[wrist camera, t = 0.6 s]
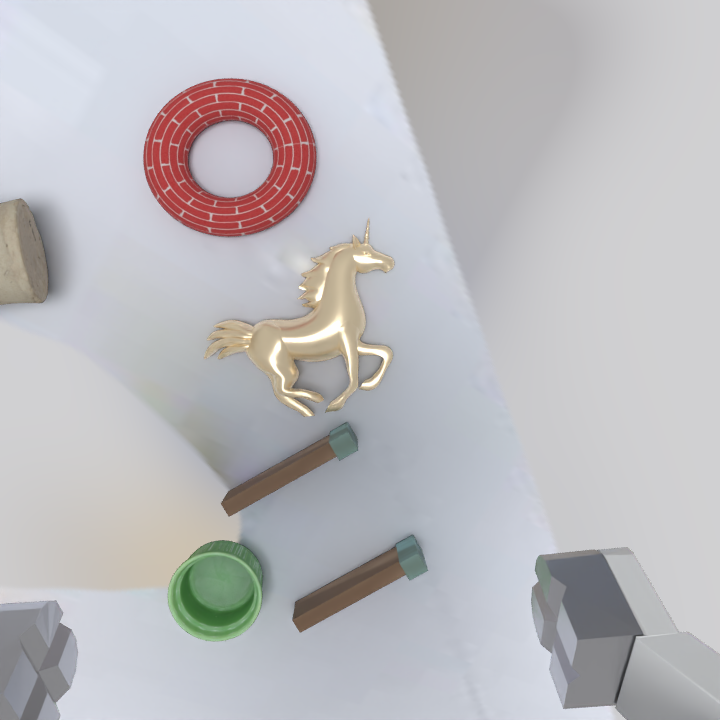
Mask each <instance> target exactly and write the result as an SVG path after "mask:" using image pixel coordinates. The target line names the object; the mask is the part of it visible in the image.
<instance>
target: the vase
mask: <svg viewBox="0 0 720 720" xmlns="http://www.w3.org/2000/svg"><path fill="white" fill-rule="evenodd" d="M47 294H48V270H47V263H46V257H45V251H44V247H43V244H42V240H41V236H40V234H39V232H38V230H37V227H36V223H35V221H34V217H33V215H32V212H31V211H30V210H29V207H28V205H27V204H26V202H25V201H24V200H22V199H16V200H12V201H8V202H4V203H0V305H3V304H11V303H42V302H44V301H45V299H46V297H47Z"/></svg>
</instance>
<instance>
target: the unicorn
mask: <svg viewBox="0 0 720 720" xmlns="http://www.w3.org/2000/svg"><path fill="white" fill-rule="evenodd" d="M368 230H369V219H368V222H367V228H366V234H365V237H364V239H365V240H364V243H363V244H360V242H359V240H358V239H357V238H356V237H355V235H353V243H349V244H348V243H343V244H338V245H336V246H333V247H330V249H331V250H330V251H328V252H326V253H325V254H323V255H321V256H319V257H316V258H311V260H312V261H313V262H315V263H318V264H317V265H316V266H315V267H314V268H313V269H311V270H310V271H308V272H305V273H302V276H303V277H306V279H305V281H304V282H303V283H302V284H301V285H300V286H299V289H304V290H306V292H305V293H303V294H302V295H301V296H300V297H299V298H298V299H306V300H308V301H310V302H308V303H306V304H302V305H303V306H305V307H311V308H314V309H313V310H312V311H311V312H310V313H309V314H308V315H306V316H304V317H301V318H297V319H291V320H279V319H271V320H270V319H267V320H263V321H261V322H259V323H257V324H256V325H254V326H251V325H249V324H246V323H244V322H241V321H237V320H227V321H223V322H220V323H218V324H216V325H214V326H213V327H216V328H224V329H223V330H217V331H214V332H213V333H211V334H210V336H209V337H208V338H207V340H214V339H217V338H223V339H220V340H217V341H215V342H214V343H212V344H211V345H210V346H209V347H208V349H207V350H206V352H205V355H204V359H207V358H209V357H210V356H212V355H213V354H214V353H216V352H217V351H218V350H219V349H221V348H224V347H226V348H225V349H223V350H222V351H221V352H220V354H219V356H218V359H222V358H224V357H227V356H229V355H232V354H235V353H239V352H246V354H247V356H248V357H249V359H250V360H251V361H252V363H253V364H254V365H255V366H256V367H257V368H258V369H259V370H261V371H262V372H264V373H265V374H266V375H267V376H268V377H269V379H270V380H271V383H272V386H273V390H274V394H275V396H276V398H277V399H278V400H279V401H280V402H281V403H283V404H284V405H286V406H288V407H290V408H292V409H294V410H296V411H298V412H299V413H301V414H302V415H303V416H304V417H307V416H314V413H313V412H312V411H311V410H310V409H309V408H308V407H307V406H306V405H304V404H302V403H301V402H299V401H297V400H296V399H295V398H305V399H308V400H311V401H314V402H316V403H319V402H321V401H323V400H324V399H323V397H322V396H321V395H320V394H319V393H317V392H314V391H310V390H305V389H295V388H292V386H293V385H294V384H295V382H296V381H297V379H298V377H299V371H298V369H297V367H296V364H295V362H294V359H295V360H299V361H307V362H319V361H325V360H329V359H332V358H335V357H337V356H339V355H341V354H342V356H343V357H344V359H345V362H346V368H347V372H348V375H349V379H350V383H349V386H348V388H347V389H346V390H345V391H344V392H343V393H342V394H341V395H340V396H338V397H337V398H336V399H335V400H333V401H331V403H330V404H329V406H328V408H327V410H326V411H325V413H326V412H332V411H337V410H340V409H341V408H342V407H343V406H344V404H345V402H346V400H347V399H348V397H349V396H350V395H351V394H353V393H354V392H355V391H356V389H357V388H358V368H359V357H358V356H363V355H378V356H381V357H383V361H382V363H381V366H380V368H379V369H378V371H377V372H375V374H374V375H373V376H372V377H371V378H369V379H365V380H364V382H363V383H362V384H361V386H360V387H359V389H361V390H366V391H369V390H373V389H375V388H376V387H377V386H378V385H379V384H380V382H381V380H382V378H383V376H384V373H385V371H386V369H387V367H388V366H389V364H390V363H391V361H392V358H393V352H392V350H391V349H390V348H389V347H387V346H384V345H371V344H365V343H363V342H361V341H360V337H361V336H362V334H363V332H364V329H365V325H366V317H365V312H364V309H363V306H362V303H361V300H360V298H359V295H358V292H357V289H356V283H355V277H356V273H357V271H358V272H360V273H367V272H370V271H372V270H375V269H380V270H383V271H384V272H385V273H386V272H388V271H390V270H391V269H393V267H394V260H393V259H392V258H391V257H390V256H387V255H385V254H382V253H380V252H377V251H375V250H374V249H373V248H372V246H371V245H369V244H368V239H369V237H368V236H369V234H368V233H369V231H368Z"/></svg>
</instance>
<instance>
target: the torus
mask: <svg viewBox="0 0 720 720" xmlns="http://www.w3.org/2000/svg"><path fill="white" fill-rule="evenodd" d="M228 120H237V121H243V122H246V123H249V124H251V125H253V126H255V127H257V128H258V129H259V130H260V131H262V132H263V133H264V134H265V136H266V137H267V138H268V140H269V142H270V144H271V146H272V150H273V166H272V169H271V172H270V174H269V176H268V178H267V179H266V181H265V182H264V183H263V184H262V185H261V186H260V187H259V188H258V189H256V190H255V191H253V192H251V193H249V194H247V195H244V196H241V197H235V198H224V197H218V196H215V195H212V194H210V193H208V192H206V191H204V190H203V189H202V188H201V187H200V186H199V185H198V184H197V183H196V182H195V181H194V179H193V177H192V175H191V173H190V170H189V166H188V154H189V150H190V147H191V145H192V143H193V141H194V140H195V138H196V137H197V136H198V135H199V134H200V133H201V132H202V131H203V130H204V129H206V128H207V127H209V126H211V125H213V124H215V123H218V122H221V121H228ZM143 160H144V170H145V175H146V179H147V182H148V185H149V187H150V189H151V191H152V193H153V195H154V196H155V198H156V199H157V201H158V202H159V204H160V205H161V206H162V207H163V208H164V209H165V210H166V211H167V212H168V213H169V214H170V215H171V216H172V217H173V218H175V219H176V220H177V221H179V222H180V223H182V224H184V225H185V226H187V227H189V228H191V229H194V230H196V231H199V232H202V233H206V234H210V235H215V236H227V237H231V236H244V235H249V234H253V233H257V232H260V231H263V230H265V229H268V228H270V227H272V226H274V225H276V224H277V223H279V222H280V221H282V220H283V219H285V218H286V217H287V216H288V215H290V214H291V213H292V212H293V211H294V210H295V209H296V208H297V207H298V205H299V204H300V203H301V202H302V200H303V199H304V197H305V195H306V194H307V192H308V190H309V188H310V186H311V183H312V180H313V177H314V174H315V168H316V146H315V141H314V137H313V134H312V131H311V129H310V126H309V124H308V123H307V121H306V119H305V117H304V116H303V114H302V113H301V112H300V111H299V109H298V108H297V107H296V106H295V105H294V104H293V103H292V102H291V101H290V100H289V99H288V98H286V97H285V96H284V95H282V94H281V93H279V92H278V91H276V90H274V89H272V88H270V87H268V86H266V85H263V84H261V83H257V82H254V81H250V80H244V79H232V78H231V79H217V80H211V81H207V82H203V83H200V84H197V85H195V86H192V87H190V88H188V89H186V90H184V91H183V92H181V93H180V94H178V95H177V96H175V97H174V98H173V99H172V100H170V101H169V102H168V103H167V104H166V105H165V106H164V107H163V108H162V110H161V111H160V112H159V113H158V115H157V116H156V118H155V119H154V121H153V123H152V125H151V127H150V129H149V131H148V134H147V137H146V141H145V146H144V156H143Z"/></svg>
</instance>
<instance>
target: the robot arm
mask: <svg viewBox="0 0 720 720" xmlns="http://www.w3.org/2000/svg"><path fill="white" fill-rule="evenodd" d="M535 572H536V575H537V577H538V580H539V582H538V583H537V584H536V585H534V586H533V587H532V597H531V604H532V614H533V620H534V624H535V628H536V632H537V635H538V638H539V641H540V644H541V645H542V646H543V647H545V648H546V649H547V650H548V651H549V652H550V653H552V656H551V662H550V668H549V670H550V673H551V676H552V678H553V681H554V684H555V687H556V690H557V693H558V695H559V698H560V701H561V704H562V707H563V709H567V708H582V707H597V706H612V705H616V707H615V708H616V709H617V711H618V712H619V713H620V714H621V715H622V716H623V717H624V718H625V719H627V720H720V654H719V653H717V652H716V651H715V650H713V649H712V648H710V647H709V646H707V645H706V644H705V643H703V642H702V641H701V640H699V639H698V638H696V637H695V636H694V635H692V634H691V633H689V632H679V631H678V629H677V628H676V626H675V624H674V623H673V621H672V619H671V617H670V616H669V614H668V612H667V610H666V608H665V607H664V605H663V603H662V601H661V600H660V598H659V596H658V595H657V593H656V591H655V589H654V588H653V586H652V584H651V582H650V581H649V579H648V577H647V576H646V574H645V572H644V570H643V569H642V567H641V565H640V563H639V562H638V560H637V558H636V556H635V555H634V553H633V552H632V551H631V550H630V549H629V548H627V547H624V548H614V549H604V550H585V551H576V552H566V553H557V554H547V555H539V557H538V558H537V560H536V566H535ZM62 615H63V612H62V610H61V608H60V606H59V605H58V603H57V601H56V600H55V601H39V602H23V603H7V604H0V720H59V718H60V713H59V710H58V708H57V705H56V702H57V701H58V700H59V699H60V698H61V697H62V696H63V695H64V694H65V693H66V692H67V691H68V690H69V689H70V687H71V684H72V681H73V678H74V675H75V672H76V665H77V655H78V649H77V643H76V638H75V636H74V634H73V632H72V630H71V629H70V628H68V627H66V626H64V625H63V624H61V623H59V622H60V620H61V617H62Z"/></svg>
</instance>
